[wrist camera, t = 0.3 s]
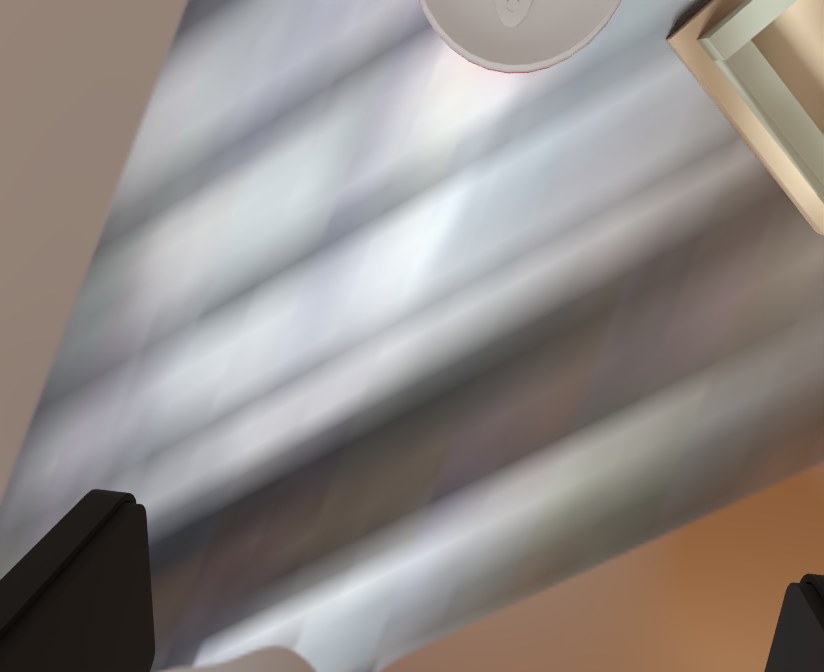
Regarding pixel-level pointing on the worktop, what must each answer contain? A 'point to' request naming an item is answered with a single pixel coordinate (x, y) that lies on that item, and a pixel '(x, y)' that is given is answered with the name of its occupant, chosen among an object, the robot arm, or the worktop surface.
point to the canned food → (518, 30)
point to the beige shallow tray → (767, 85)
